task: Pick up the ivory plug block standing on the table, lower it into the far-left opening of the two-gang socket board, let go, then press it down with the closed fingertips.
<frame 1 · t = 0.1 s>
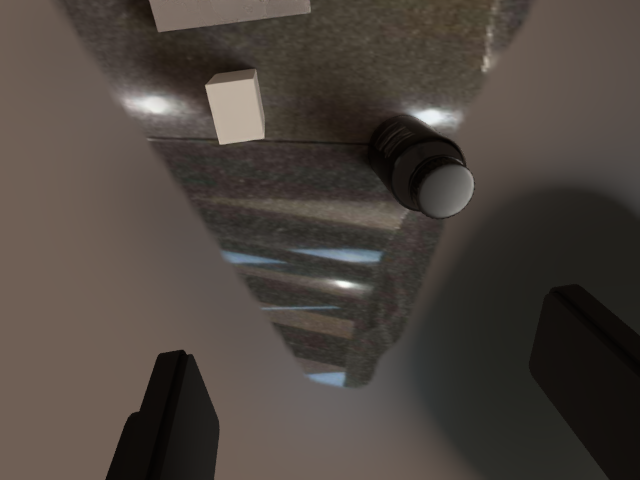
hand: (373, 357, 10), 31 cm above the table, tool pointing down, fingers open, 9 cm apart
supplement bottle: (398, 147, 40), on the table
plug: (241, 97, 36), on the table
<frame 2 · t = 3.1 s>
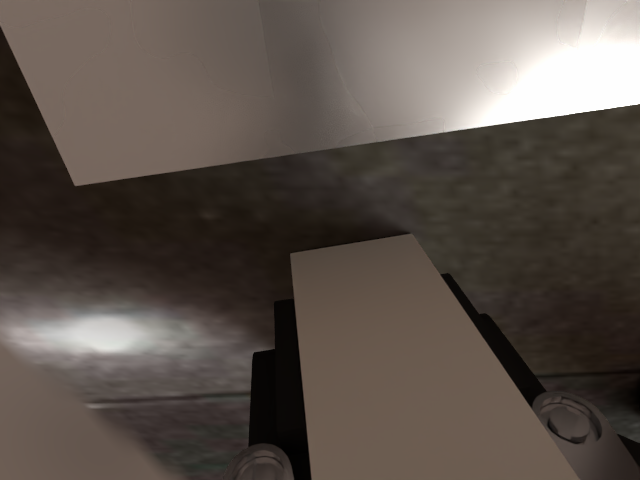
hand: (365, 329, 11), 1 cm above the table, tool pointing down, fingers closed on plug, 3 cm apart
plug: (356, 303, 12), on the table, touching gripper
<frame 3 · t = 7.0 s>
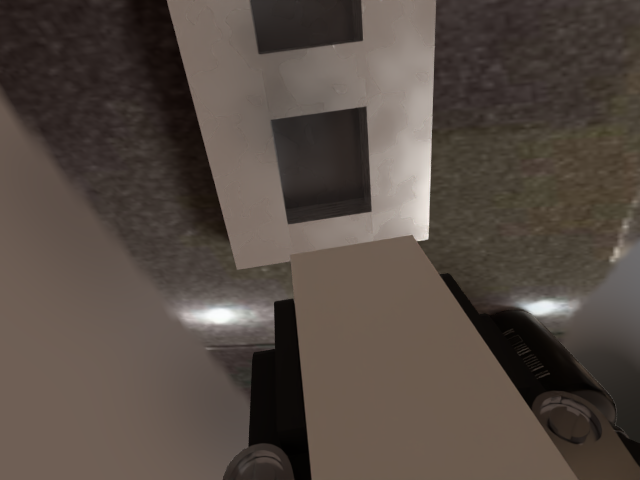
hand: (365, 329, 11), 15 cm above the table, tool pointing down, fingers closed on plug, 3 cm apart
supplement bottle: (499, 336, 34), on the table
socket board: (309, 75, 21), on the table
plug: (356, 304, 12), point 14 cm above the table, touching gripper
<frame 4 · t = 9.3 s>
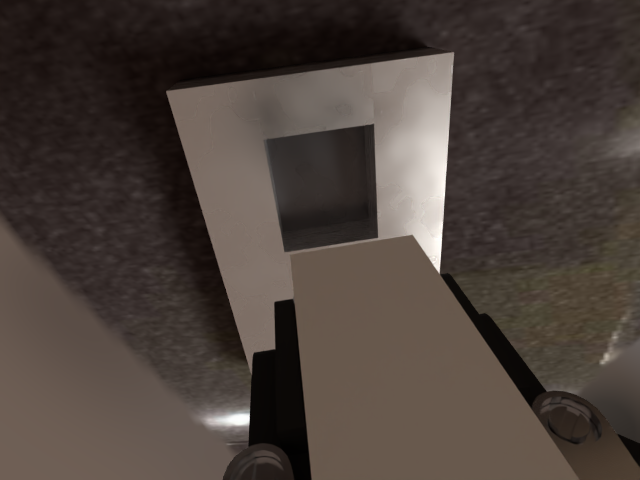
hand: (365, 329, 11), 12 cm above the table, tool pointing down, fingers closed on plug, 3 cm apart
socket board: (326, 240, 24), on the table
plug: (357, 304, 12), point 11 cm above the table, touching gripper
when the fingers open (3 cm above the table, at t = 11.3 s): plug drops 1 cm, resting on socket board.
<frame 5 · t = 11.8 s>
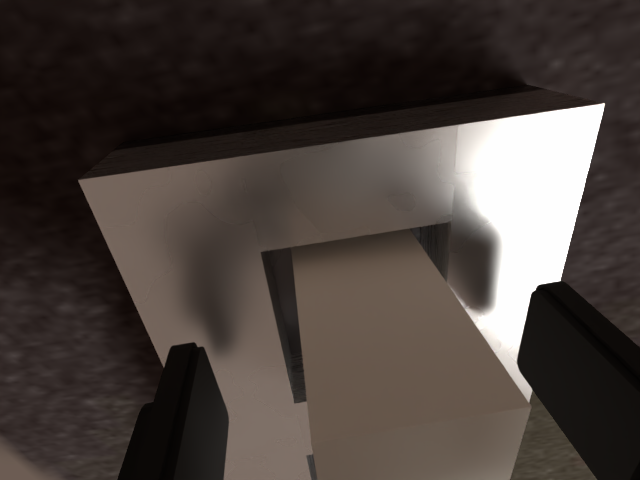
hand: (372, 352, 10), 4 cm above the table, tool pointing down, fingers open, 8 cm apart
socket board: (353, 355, 16), on the table
plug: (349, 281, 13), point 1 cm above the table, touching socket board
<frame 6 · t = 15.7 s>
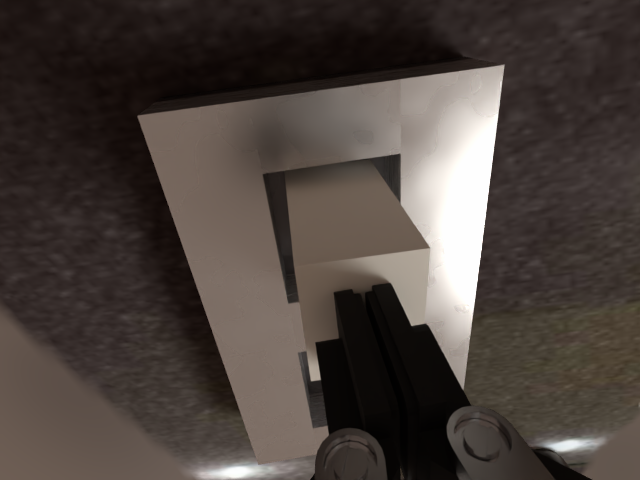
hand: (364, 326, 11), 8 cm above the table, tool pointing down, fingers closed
supplement bottle: (521, 468, 33), on the table
socket board: (337, 281, 20), on the table
plug: (331, 212, 17), point 1 cm above the table, touching gripper, socket board
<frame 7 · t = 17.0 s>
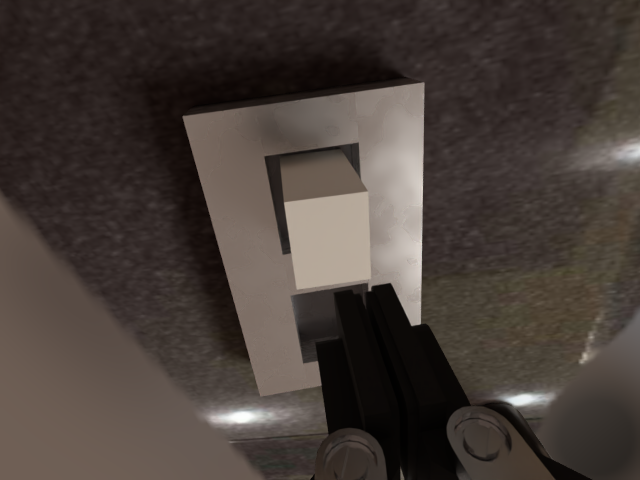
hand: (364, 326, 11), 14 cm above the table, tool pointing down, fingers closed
supplement bottle: (485, 422, 38), on the table
socket board: (320, 245, 26), on the table
plug: (314, 188, 23), point 1 cm above the table, touching socket board
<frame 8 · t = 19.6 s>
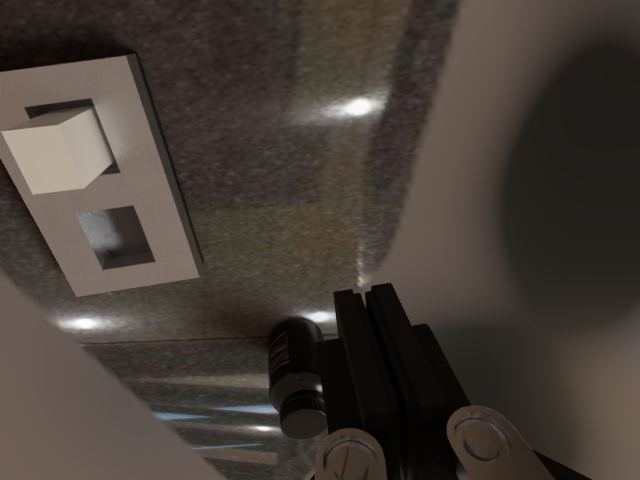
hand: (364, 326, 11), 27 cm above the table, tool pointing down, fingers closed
supplement bottle: (295, 336, 48), on the table
socket board: (110, 181, 35), on the table
plug: (86, 135, 32), point 1 cm above the table, touching socket board
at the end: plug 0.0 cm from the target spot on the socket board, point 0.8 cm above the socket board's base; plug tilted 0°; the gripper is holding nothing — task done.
